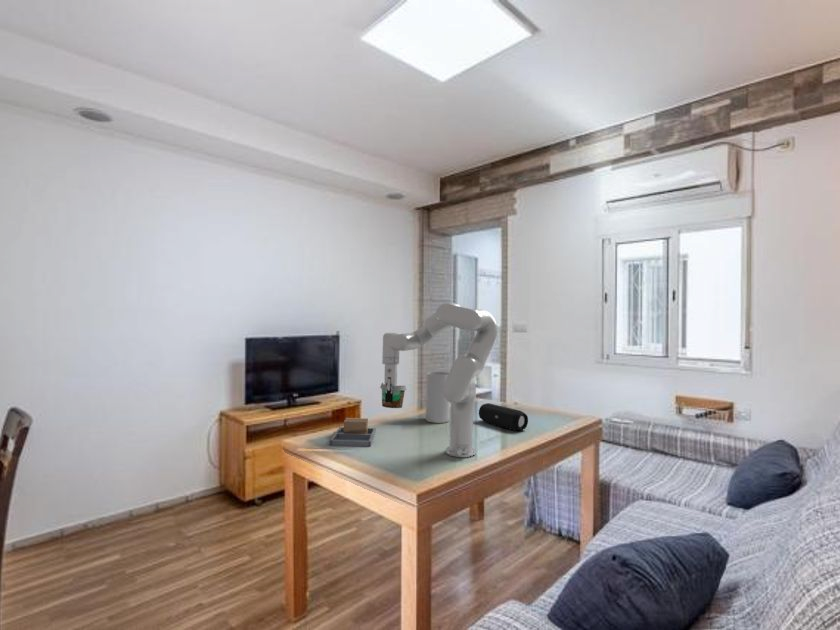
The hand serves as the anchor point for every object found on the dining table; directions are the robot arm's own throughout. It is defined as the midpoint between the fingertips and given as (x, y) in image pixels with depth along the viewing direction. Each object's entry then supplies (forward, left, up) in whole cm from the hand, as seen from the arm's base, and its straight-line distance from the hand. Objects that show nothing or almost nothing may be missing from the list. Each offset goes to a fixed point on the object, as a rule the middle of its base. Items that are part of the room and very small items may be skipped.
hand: (389, 400), depth 203 cm
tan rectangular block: (+1, +15, -17) cm, 22 cm away
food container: (-1, 0, -3) cm, 3 cm away
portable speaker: (+29, -56, -18) cm, 66 cm away
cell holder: (-4, +15, -18) cm, 23 cm away
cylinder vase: (+36, -23, -18) cm, 46 cm away
